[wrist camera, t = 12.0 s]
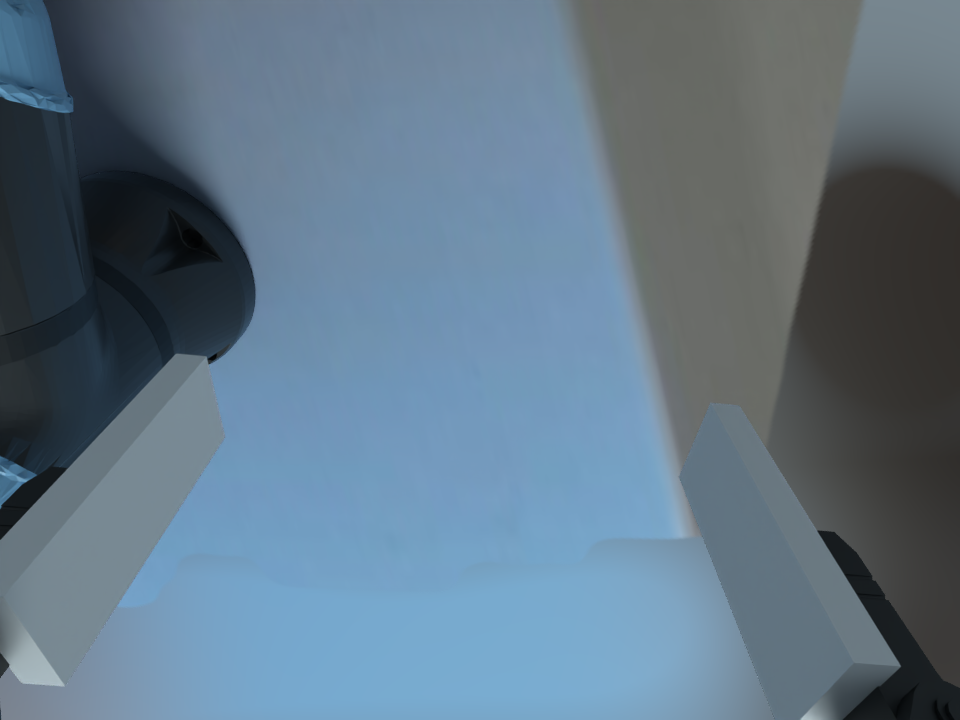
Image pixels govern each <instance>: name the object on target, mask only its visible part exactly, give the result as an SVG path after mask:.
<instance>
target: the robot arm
mask: <svg viewBox="0 0 960 720" xmlns="http://www.w3.org/2000/svg"><path fill="white" fill-rule="evenodd" d="M70 112H74V111H73V98H72V96H71V95H70V94H69V93H68V92H67V91H66V90H65V85H64V81H63V76H62V72H61V67H60V63H59V58H58V54H57V49H56V45H55V40H54V35H53V31H52V26H51V22H50V18H49V15H48V12H47V9H46V7H45V4H44V2H43V0H0V678H1V676H2V675H3V674H4V672H5V671H6V670H7V668H8V667H9V668H10V669H11V670H12V671H13V673H14V674H15V675H16V677H17V678H18V679H19V680H20V682H21V683H27V684H40V685H53V686H66V685H67V683H68V682H69V680H70V678H71V677H72V675H73V673H74V672H75V670H76V669H77V667H78V666H79V664H80V663H81V661H82V660H83V658H84V657H85V655H86V653H87V652H88V650H89V649H90V647H91V646H92V644H93V643H94V641H95V639H96V638H97V636H98V635H99V633H100V632H101V630H102V629H103V627H104V625H105V624H106V622H107V621H108V619H109V618H110V616H111V614H112V613H113V611H114V610H115V608H116V607H117V605H118V604H119V602H120V600H121V599H122V597H123V596H124V594H125V593H126V591H127V590H128V588H129V586H130V585H131V583H132V582H133V580H134V579H135V577H136V575H137V574H138V572H139V571H140V569H141V568H142V566H143V565H144V563H145V561H146V560H147V558H148V557H149V555H150V554H151V552H152V551H153V549H154V547H155V546H156V544H157V543H158V541H159V540H160V538H161V536H162V535H163V533H164V532H165V530H166V529H167V527H168V526H169V524H170V522H171V521H172V519H173V518H174V516H175V515H176V513H177V512H178V510H179V508H180V507H181V505H182V504H183V502H184V501H185V499H186V497H187V496H188V494H189V493H190V491H191V490H192V488H193V487H194V485H195V483H196V482H197V480H198V479H199V477H200V476H201V474H202V473H203V471H204V469H205V468H206V466H207V465H208V463H209V462H210V460H211V458H212V457H213V455H214V454H215V452H216V451H217V449H218V448H219V446H220V444H221V443H222V441H223V440H224V438H225V434H224V430H223V426H222V421H221V417H220V413H219V408H218V404H217V399H216V395H215V391H214V386H213V382H212V378H211V373H210V369H209V364H211V363H213V362H215V361H216V360H218V359H219V358H221V357H222V356H223V355H225V354H226V353H227V352H228V351H229V350H230V349H231V348H232V347H233V345H234V344H235V343H236V342H237V341H238V340H239V338H240V337H241V336H242V335H243V333H244V332H245V331H246V329H247V327H248V326H249V323H250V321H251V319H252V316H253V312H254V306H255V287H254V281H253V276H252V273H251V269H250V266H249V264H248V261H247V259H246V257H245V255H244V253H243V251H242V249H241V247H240V246H239V244H238V242H237V241H236V239H235V238H234V236H233V235H232V234H231V232H230V231H229V230H228V229H227V227H226V226H225V225H224V224H223V223H222V222H221V221H220V220H219V219H218V218H217V216H216V215H214V214H213V213H212V212H211V211H210V210H209V209H208V208H207V207H205V206H204V205H203V204H202V203H200V202H199V201H198V200H196V199H195V198H194V197H192V196H190V195H189V194H187V193H186V192H184V191H182V190H181V189H179V188H177V187H175V186H173V185H171V184H169V183H166V182H164V181H162V180H159V179H156V178H153V177H150V176H146V175H142V174H138V173H132V172H122V171H109V172H101V173H96V174H92V175H89V176H86V177H83V178H81V179H80V177H79V171H78V165H77V158H76V152H75V146H74V140H73V134H72V126H71V119H70ZM679 478H680V481H681V483H682V486H683V488H684V491H685V493H686V496H687V498H688V501H689V504H690V506H691V509H692V511H693V514H694V516H695V519H696V521H697V524H698V526H699V529H700V531H701V534H702V537H703V539H704V542H705V544H706V547H707V549H708V552H709V554H710V557H711V559H712V562H713V564H714V567H715V569H716V572H717V575H718V577H719V580H720V582H721V585H722V587H723V590H724V592H725V595H726V597H727V600H728V602H729V605H730V607H731V610H732V613H733V615H734V617H735V620H736V623H737V625H738V628H739V630H740V633H741V635H742V638H743V641H744V643H745V645H746V648H747V650H748V653H749V656H750V658H751V660H752V663H753V666H754V668H755V671H756V673H757V676H758V679H759V681H760V684H761V686H762V689H763V691H764V694H765V696H766V698H767V701H768V704H769V706H770V709H771V711H772V714H773V717H774V719H775V720H960V688H958V687H956V686H954V685H952V684H950V683H948V682H945V681H943V680H942V679H941V677H940V676H939V675H938V673H937V672H936V671H935V669H934V668H933V666H932V665H931V663H930V662H929V660H928V659H927V657H926V656H925V654H924V653H923V651H922V650H921V648H920V647H919V645H918V644H917V642H916V641H915V639H914V638H913V636H912V635H911V633H910V632H909V630H908V629H907V627H906V626H905V624H904V623H903V621H902V620H901V618H900V617H899V615H898V614H897V612H896V611H895V609H894V608H893V607H892V605H891V603H890V602H889V601H888V600H886V599H885V594H884V593H883V591H882V590H881V588H880V587H879V586H878V584H877V582H876V581H873V580H872V575H871V573H870V572H869V570H868V569H867V567H866V566H865V564H864V563H863V561H862V560H861V558H860V557H859V555H858V554H857V553H856V552H855V551H854V550H853V549H852V548H851V547H850V546H849V545H847V543H845V542H844V541H843V540H842V539H841V538H840V537H839V536H838V535H837V534H836V533H835V532H829V531H817V530H816V528H815V527H814V525H813V524H812V522H811V520H810V519H809V517H808V516H807V514H806V512H805V511H804V509H803V508H802V506H801V504H800V503H799V501H798V500H797V498H796V496H795V495H794V493H793V491H792V490H791V488H790V487H789V485H788V483H787V482H786V480H785V478H784V477H783V475H782V474H781V472H780V471H779V469H778V467H777V466H776V464H775V462H774V461H773V459H772V458H771V456H770V454H769V453H768V451H767V449H766V448H765V446H764V445H763V443H762V441H761V440H760V438H759V437H758V435H757V433H756V432H755V430H754V428H753V427H752V425H751V424H750V422H749V420H748V419H747V417H746V416H745V414H744V412H743V411H742V409H741V408H740V406H739V405H729V404H718V403H710V406H709V408H708V410H707V413H706V415H705V417H704V420H703V422H702V424H701V427H700V429H699V431H698V434H697V436H696V438H695V441H694V443H693V445H692V448H691V450H690V452H689V455H688V457H687V459H686V462H685V464H684V466H683V469H682V471H681V474H680V476H679ZM0 720H1V710H0Z"/></svg>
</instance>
